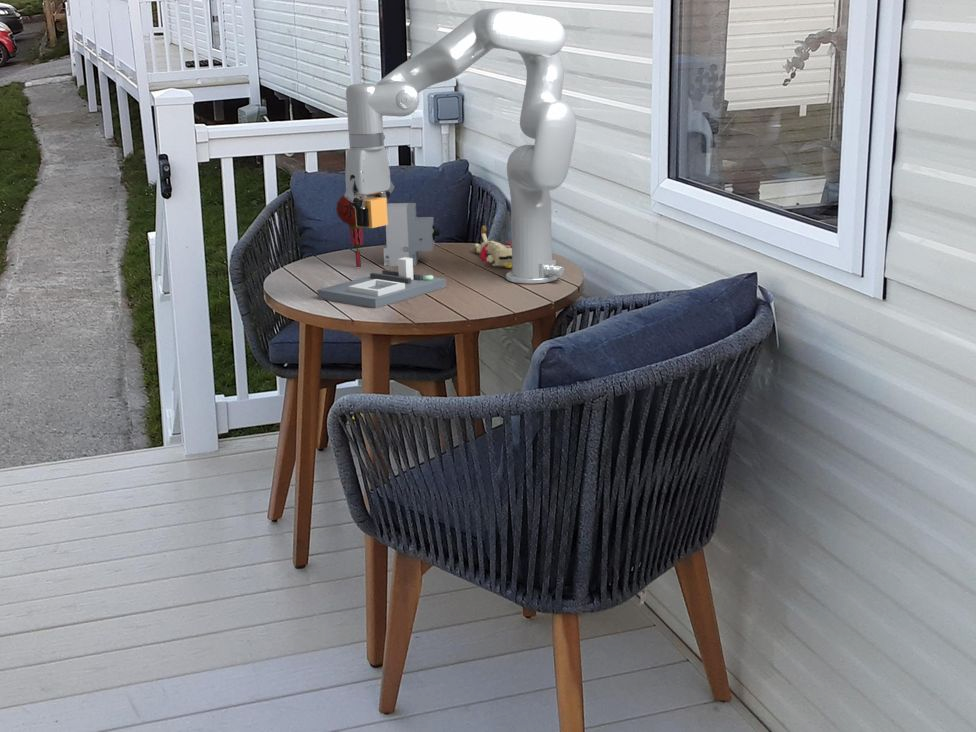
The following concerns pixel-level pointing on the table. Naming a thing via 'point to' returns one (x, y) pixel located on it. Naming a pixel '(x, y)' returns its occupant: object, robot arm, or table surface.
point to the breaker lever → (405, 267)
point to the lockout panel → (381, 289)
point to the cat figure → (494, 251)
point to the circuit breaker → (407, 233)
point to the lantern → (351, 224)
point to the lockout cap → (376, 211)
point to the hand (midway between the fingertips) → (371, 223)
